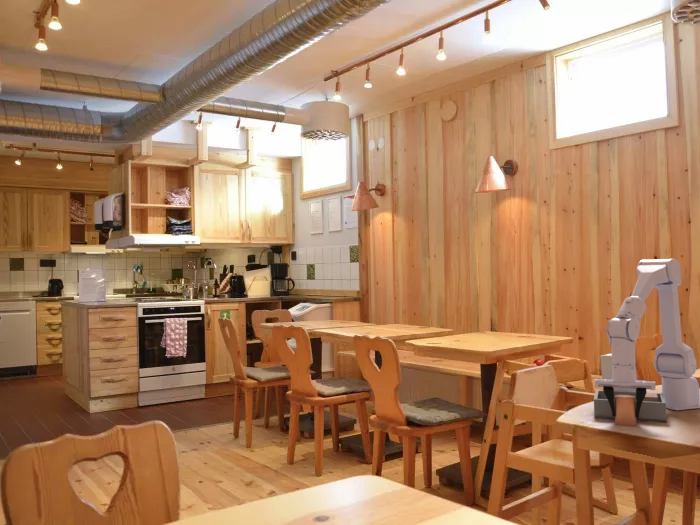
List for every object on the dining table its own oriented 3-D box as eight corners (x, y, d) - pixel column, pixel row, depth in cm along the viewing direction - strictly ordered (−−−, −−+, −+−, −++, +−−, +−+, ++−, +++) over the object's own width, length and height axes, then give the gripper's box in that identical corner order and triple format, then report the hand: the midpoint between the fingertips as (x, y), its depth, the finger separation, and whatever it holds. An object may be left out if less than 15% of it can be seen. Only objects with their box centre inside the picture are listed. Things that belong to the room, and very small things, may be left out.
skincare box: (639, 405, 184) (637, 354, 184) (627, 407, 181) (625, 356, 181) (613, 400, 191) (611, 352, 191) (601, 403, 188) (599, 353, 188)
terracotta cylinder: (627, 420, 166) (626, 394, 166) (640, 424, 161) (639, 397, 161) (611, 422, 164) (610, 395, 164) (624, 426, 159) (623, 399, 160)
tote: (663, 411, 175) (662, 393, 175) (666, 422, 163) (665, 403, 163) (596, 407, 182) (595, 390, 182) (594, 417, 170) (593, 399, 170)
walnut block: (637, 410, 174) (636, 392, 174) (657, 411, 172) (656, 393, 172) (638, 414, 169) (637, 396, 169) (658, 415, 167) (657, 397, 167)
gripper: (593, 365, 162) (595, 417, 162) (655, 367, 156) (657, 421, 156) (594, 361, 169) (596, 411, 168) (654, 363, 163) (655, 415, 162)
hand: (625, 416), depth 163 cm, fingers closed on terracotta cylinder, 5 cm apart
